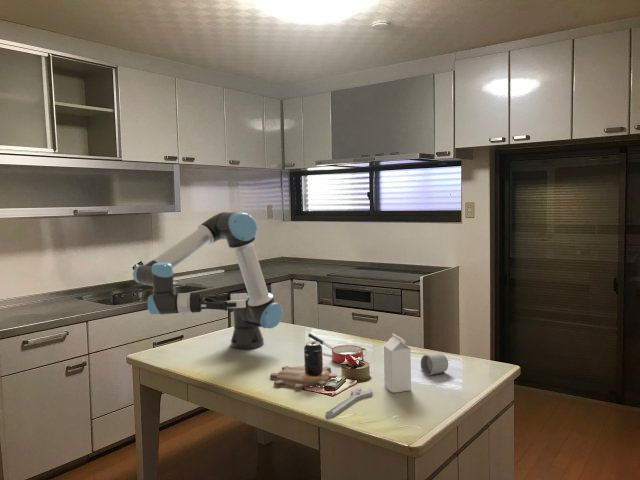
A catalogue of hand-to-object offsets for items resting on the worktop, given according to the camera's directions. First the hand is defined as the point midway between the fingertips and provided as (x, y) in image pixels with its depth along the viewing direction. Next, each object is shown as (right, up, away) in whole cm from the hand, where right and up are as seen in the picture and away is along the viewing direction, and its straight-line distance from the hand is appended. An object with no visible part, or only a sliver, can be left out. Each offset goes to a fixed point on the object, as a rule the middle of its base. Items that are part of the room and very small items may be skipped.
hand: (246, 300), depth 203 cm
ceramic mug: (+71, -28, -1) cm, 77 cm away
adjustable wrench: (+37, -32, -28) cm, 56 cm away
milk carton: (+56, -30, -17) cm, 65 cm away
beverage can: (+26, -28, -4) cm, 38 cm away
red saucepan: (+33, -27, +24) cm, 49 cm away
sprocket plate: (+22, -29, -4) cm, 37 cm away
